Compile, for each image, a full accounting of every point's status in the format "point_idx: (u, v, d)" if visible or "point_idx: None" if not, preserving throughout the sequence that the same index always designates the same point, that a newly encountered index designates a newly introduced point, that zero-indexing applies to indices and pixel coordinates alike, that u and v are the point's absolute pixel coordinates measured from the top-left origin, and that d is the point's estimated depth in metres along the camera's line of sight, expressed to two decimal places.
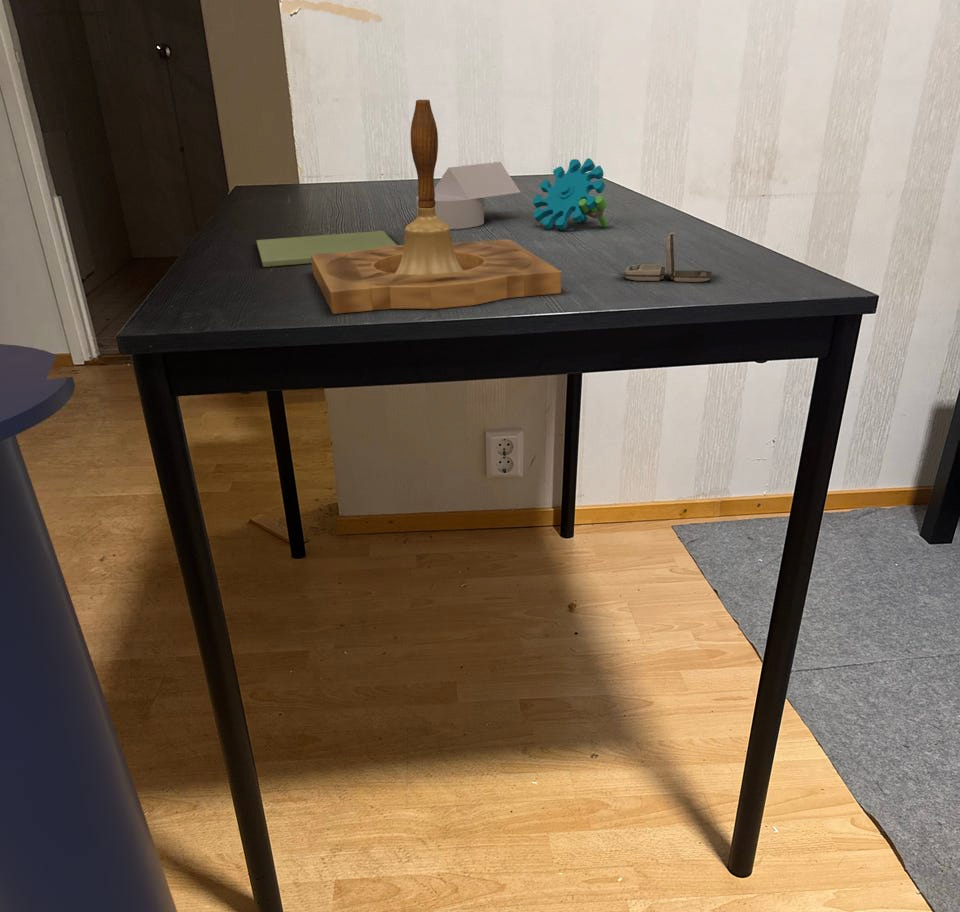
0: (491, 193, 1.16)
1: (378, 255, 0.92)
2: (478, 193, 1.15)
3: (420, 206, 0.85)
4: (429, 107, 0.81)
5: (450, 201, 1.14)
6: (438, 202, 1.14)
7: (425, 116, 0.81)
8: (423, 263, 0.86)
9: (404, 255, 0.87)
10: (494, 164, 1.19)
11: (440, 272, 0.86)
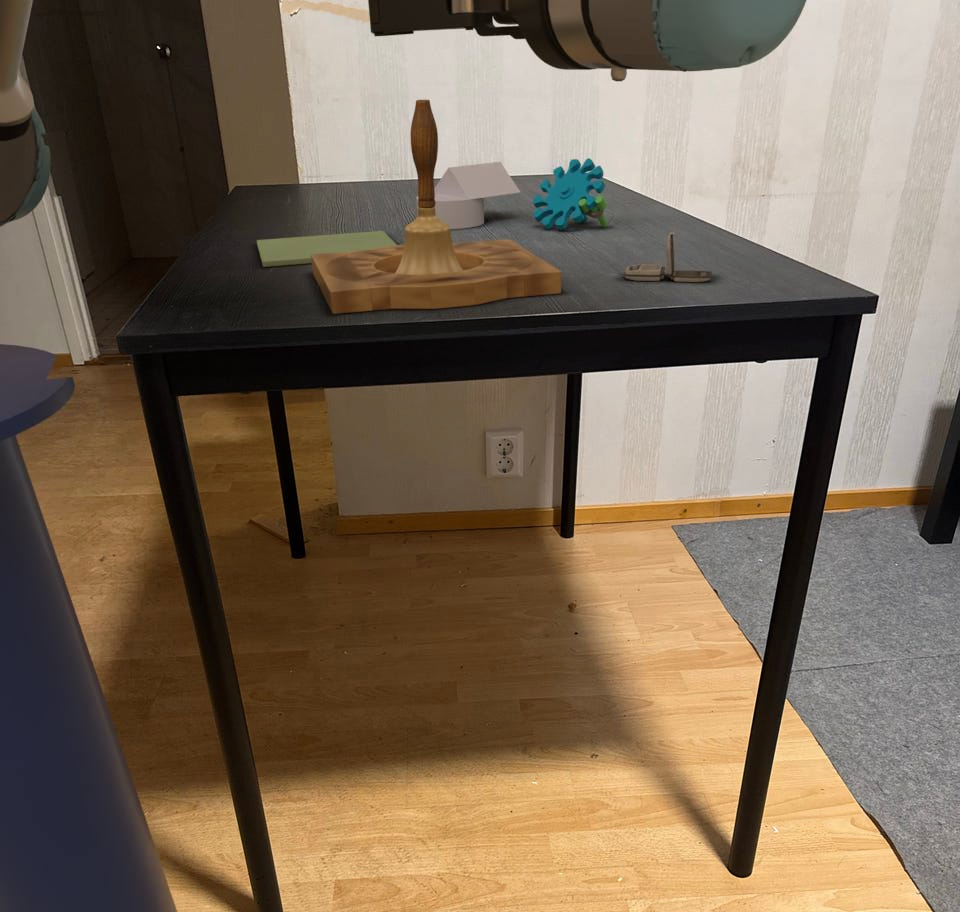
0: (491, 193, 1.16)
1: (378, 255, 0.92)
2: (478, 193, 1.15)
3: (420, 206, 0.85)
4: (429, 107, 0.81)
5: (450, 201, 1.14)
6: (438, 202, 1.14)
7: (425, 116, 0.81)
8: (423, 263, 0.86)
9: (404, 255, 0.87)
10: (494, 164, 1.19)
11: (440, 272, 0.86)
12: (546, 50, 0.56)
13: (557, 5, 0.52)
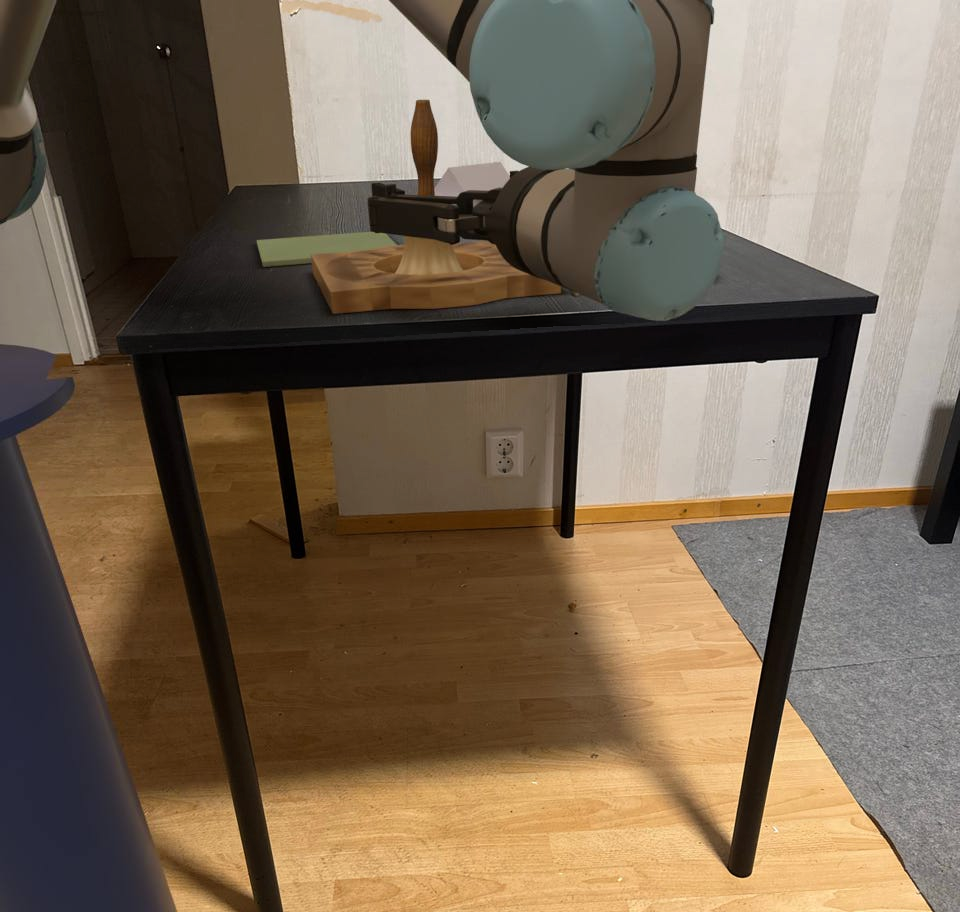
0: None
1: (378, 255, 0.92)
2: None
3: None
4: (429, 107, 0.81)
5: None
6: None
7: (425, 116, 0.81)
8: (423, 263, 0.86)
9: (404, 255, 0.87)
10: (494, 164, 1.19)
11: (440, 272, 0.86)
12: (516, 265, 0.66)
13: (523, 241, 0.62)
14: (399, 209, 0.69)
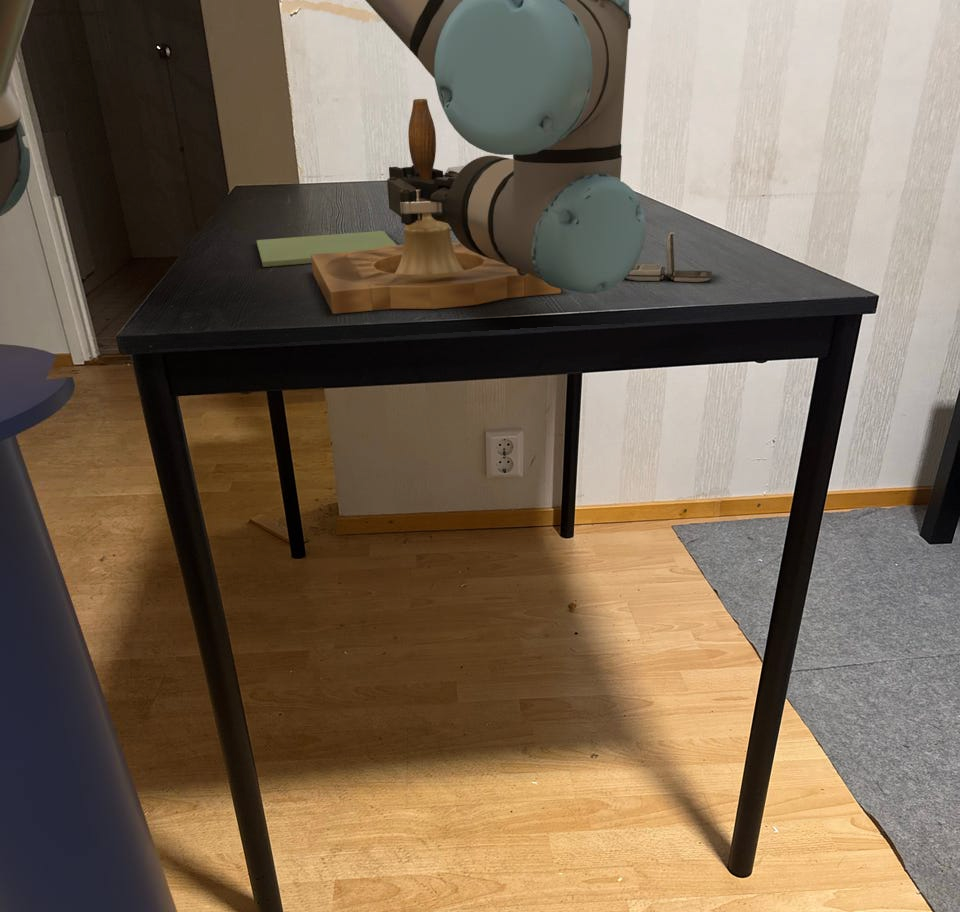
0: None
1: (378, 255, 0.92)
2: None
3: None
4: (426, 106, 0.81)
5: None
6: None
7: (423, 115, 0.81)
8: (423, 262, 0.86)
9: (404, 255, 0.87)
10: None
11: (440, 271, 0.86)
12: (470, 247, 0.73)
13: (473, 224, 0.69)
14: (394, 190, 0.79)
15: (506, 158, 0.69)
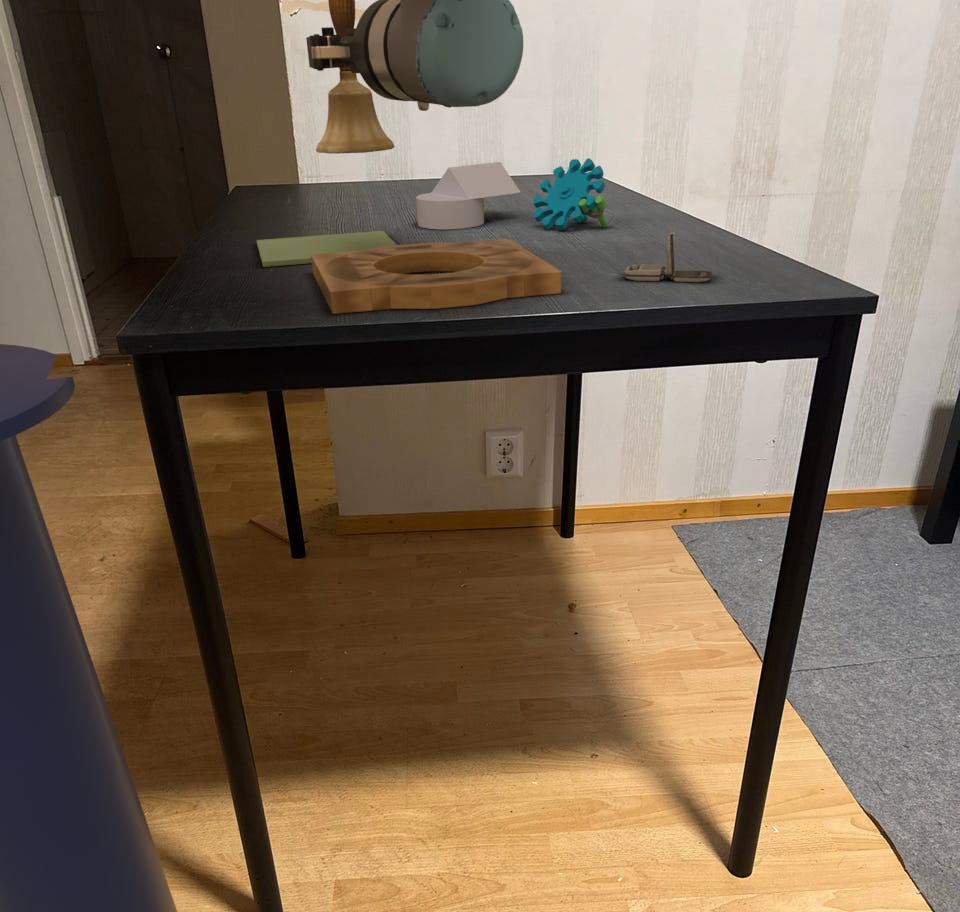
0: (491, 193, 1.16)
1: (378, 255, 0.92)
2: (478, 193, 1.15)
3: (341, 69, 0.89)
4: None
5: (450, 201, 1.14)
6: (438, 202, 1.14)
7: None
8: (346, 125, 0.89)
9: (328, 120, 0.91)
10: (494, 164, 1.19)
11: (362, 134, 0.90)
12: (375, 86, 0.76)
13: (373, 57, 0.72)
14: (310, 43, 0.82)
15: None
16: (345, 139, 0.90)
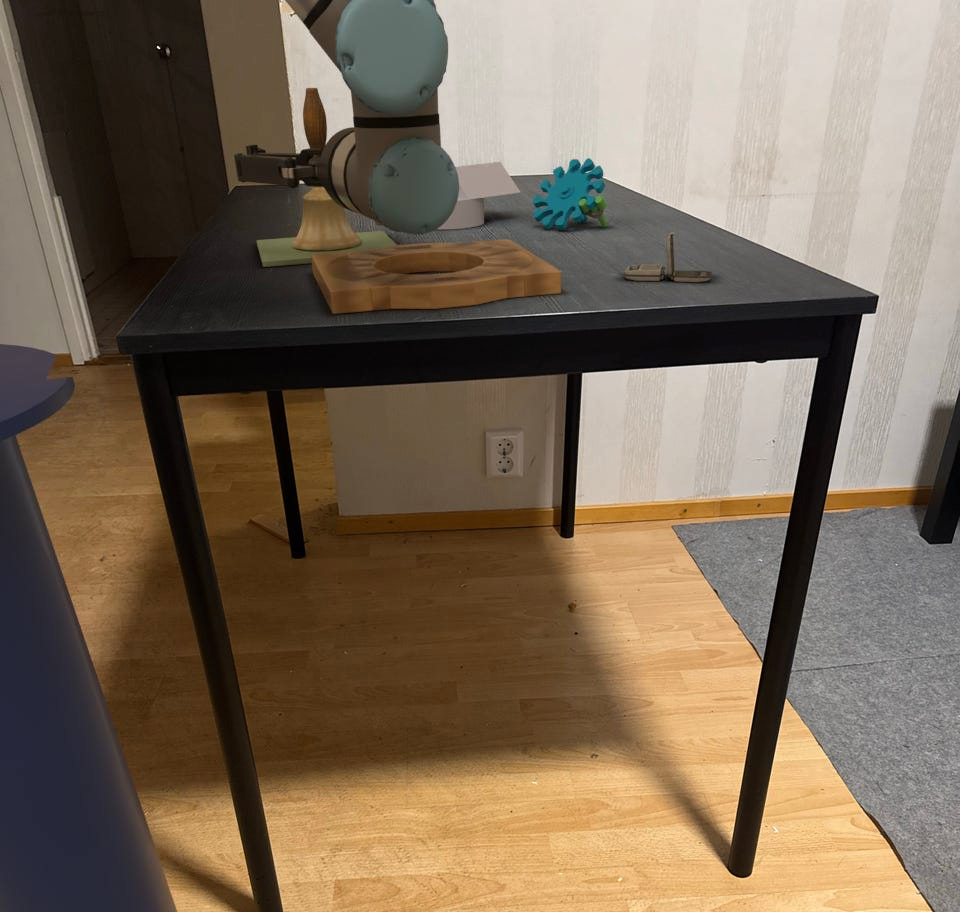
0: (491, 193, 1.16)
1: (378, 255, 0.92)
2: (478, 193, 1.15)
3: None
4: (317, 94, 0.96)
5: None
6: None
7: (314, 101, 0.96)
8: (318, 226, 1.02)
9: (303, 220, 1.03)
10: (494, 164, 1.19)
11: (333, 234, 1.02)
12: (339, 203, 0.88)
13: (336, 182, 0.84)
14: (255, 162, 0.91)
15: None
16: (317, 238, 1.02)
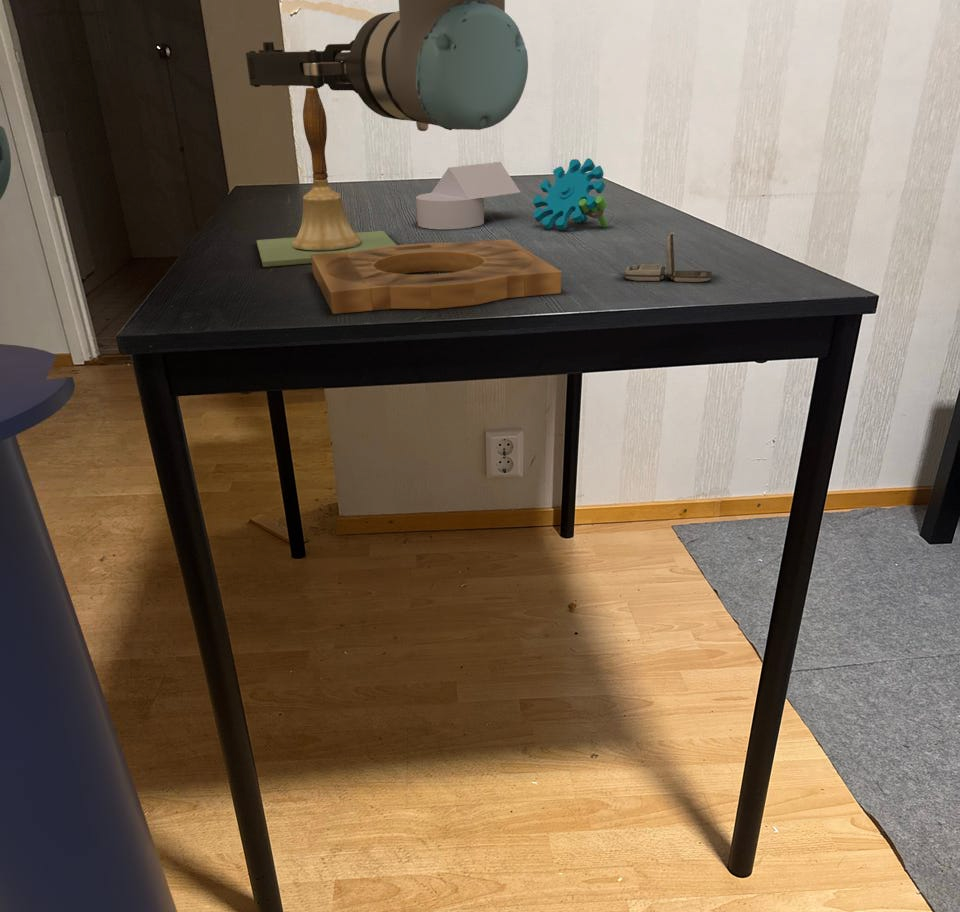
0: (491, 193, 1.16)
1: (378, 255, 0.92)
2: (478, 193, 1.15)
3: (314, 178, 1.01)
4: (317, 94, 0.96)
5: (450, 201, 1.14)
6: (438, 202, 1.14)
7: (313, 101, 0.96)
8: (318, 226, 1.02)
9: (303, 220, 1.03)
10: (494, 164, 1.19)
11: (333, 234, 1.02)
12: (372, 105, 0.73)
13: (371, 75, 0.70)
14: (271, 59, 0.76)
15: None
16: (317, 238, 1.02)
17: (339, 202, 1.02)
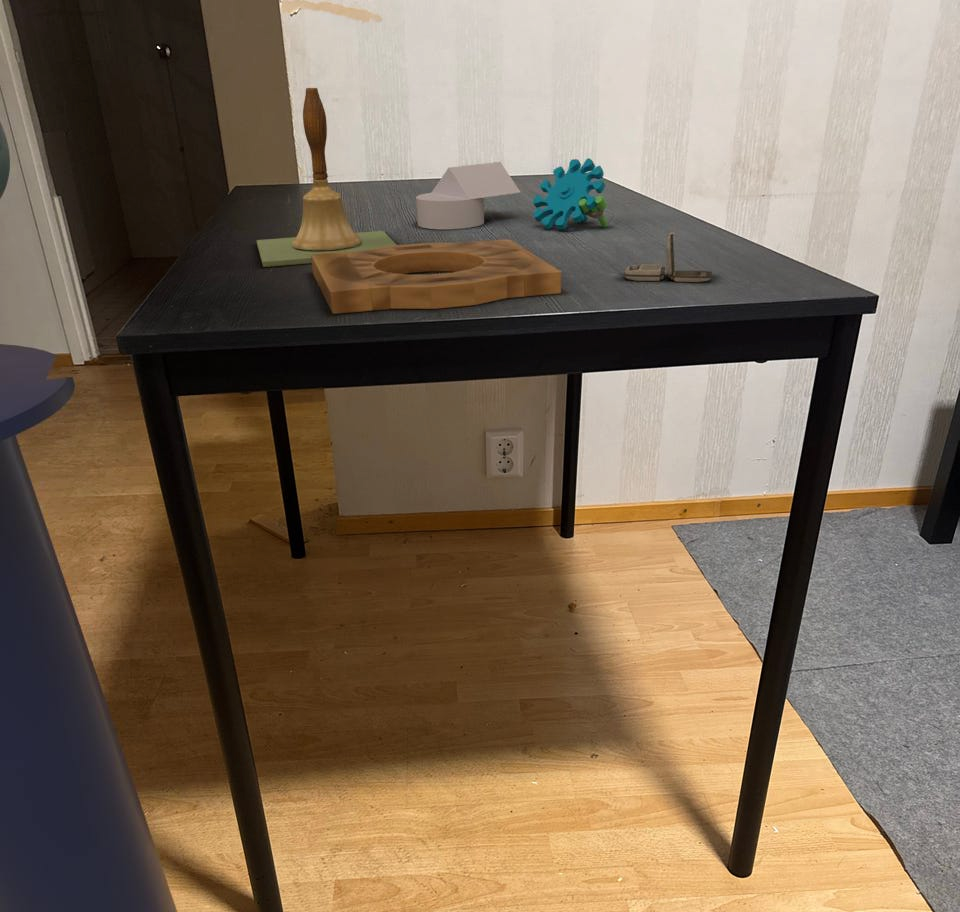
0: (491, 193, 1.16)
1: (378, 255, 0.92)
2: (478, 193, 1.15)
3: (314, 178, 1.01)
4: (317, 94, 0.96)
5: (450, 201, 1.14)
6: (438, 202, 1.14)
7: (313, 101, 0.96)
8: (318, 226, 1.02)
9: (303, 220, 1.03)
10: (494, 164, 1.19)
11: (333, 234, 1.02)
12: None
13: None
14: None
15: None
16: (317, 238, 1.02)
17: (339, 202, 1.02)
